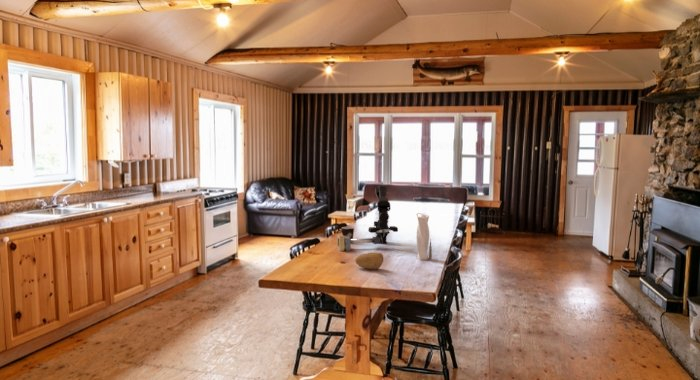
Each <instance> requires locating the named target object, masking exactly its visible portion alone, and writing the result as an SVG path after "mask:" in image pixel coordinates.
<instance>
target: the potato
mask: <svg viewBox="0 0 700 380" xmlns="http://www.w3.org/2000/svg"><path fill="white" fill-rule="evenodd" d="M354 262H355V264H357V265H358V267H360V268H364V269H366V270H378V269H380V268H381V267H382V265H383V263H384V255H383V254H382V253H381V252H371V251H370V252H366V253H362V254H359V255H357V257H355V260H354Z"/></svg>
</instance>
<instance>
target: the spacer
mask: <svg viewBox="0 0 700 380" xmlns="http://www.w3.org/2000/svg"><path fill="white" fill-rule="evenodd" d="M336 239H337V240H336V246H337V247H336V249H337V250H338V252H344V251H345V249H344V236H343V235H342V233H338V234H337V233H336Z"/></svg>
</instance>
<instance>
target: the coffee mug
mask: <svg viewBox="0 0 700 380" xmlns="http://www.w3.org/2000/svg"><path fill="white" fill-rule="evenodd" d="M354 230H355V227H354V226H342V227H341V230H340V229H339V230H337V231H336V235H337V234H339V232H341V234H342V235H343V236H348V237H350V238H351V239H354V232H355V231H354Z"/></svg>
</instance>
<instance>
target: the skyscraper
mask: <svg viewBox="0 0 700 380" xmlns="http://www.w3.org/2000/svg"><path fill="white" fill-rule="evenodd" d="M419 215H420V216H419ZM416 218H417V222H418V224H417V229H416V246H417V252H418V253H417V255H416V259H417V260H419V261H421V262H425V261H426V262H427V261H433V259H432V258H433V257H432V256H433V254H432V252H433V251H432V247H433V246H432V239H430V229H429V228H430V227H429V224H428V222H429V218H430V215H427V214H424V213H420V212H417V213H416ZM428 249H429V250H428ZM427 253H428V254H427Z"/></svg>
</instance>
